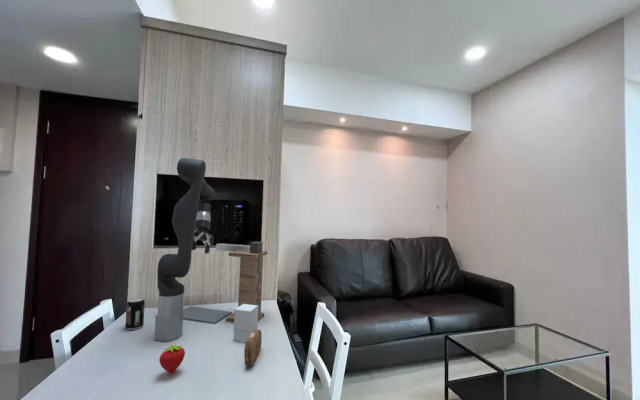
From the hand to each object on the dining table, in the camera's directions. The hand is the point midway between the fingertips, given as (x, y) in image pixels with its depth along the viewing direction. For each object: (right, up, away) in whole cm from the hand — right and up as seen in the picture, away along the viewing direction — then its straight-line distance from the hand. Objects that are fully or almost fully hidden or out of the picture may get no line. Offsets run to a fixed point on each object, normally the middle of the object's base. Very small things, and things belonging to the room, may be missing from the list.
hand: (200, 251), depth 138 cm
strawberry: (+13, -30, -50) cm, 60 cm away
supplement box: (+29, -31, -25) cm, 49 cm away
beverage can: (-21, -30, -18) cm, 41 cm away
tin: (+36, -31, -40) cm, 62 cm away
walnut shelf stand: (+24, -32, -5) cm, 40 cm away
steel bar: (+20, 0, -2) cm, 20 cm away
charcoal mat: (+2, -31, -2) cm, 31 cm away
